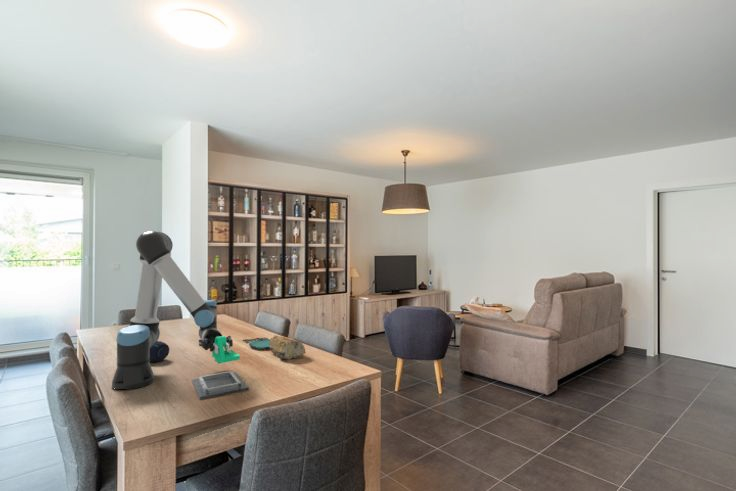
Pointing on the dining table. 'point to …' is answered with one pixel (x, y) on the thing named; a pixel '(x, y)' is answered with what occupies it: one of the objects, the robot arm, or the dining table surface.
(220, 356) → the camera mount
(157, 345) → the portable speaker
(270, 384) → the dining table surface
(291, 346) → the petrified wood
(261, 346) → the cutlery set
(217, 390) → the plate
